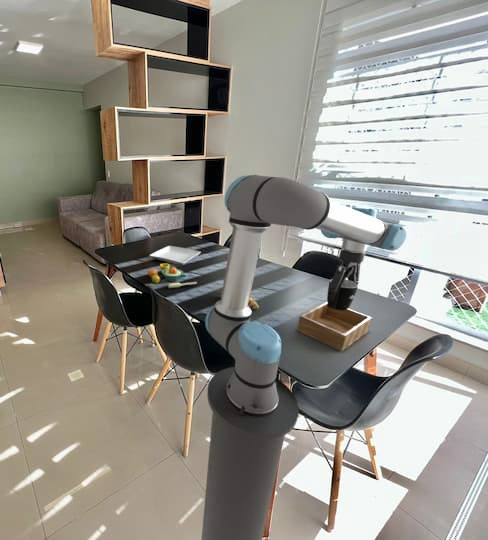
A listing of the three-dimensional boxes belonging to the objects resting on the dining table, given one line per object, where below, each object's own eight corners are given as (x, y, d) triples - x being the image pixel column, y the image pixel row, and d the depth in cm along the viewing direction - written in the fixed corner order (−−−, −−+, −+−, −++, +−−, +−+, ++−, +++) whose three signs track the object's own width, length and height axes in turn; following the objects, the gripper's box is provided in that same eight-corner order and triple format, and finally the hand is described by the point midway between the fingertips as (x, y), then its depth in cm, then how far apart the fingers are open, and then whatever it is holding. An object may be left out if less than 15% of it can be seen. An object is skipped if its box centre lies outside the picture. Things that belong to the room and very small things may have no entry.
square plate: (148, 260, 200) (148, 254, 198) (169, 249, 221) (169, 245, 219) (182, 267, 185) (183, 262, 184) (201, 256, 206) (201, 250, 205)
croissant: (259, 314, 136) (265, 299, 136) (252, 313, 129) (258, 296, 128) (221, 299, 150) (226, 285, 150) (212, 297, 142) (217, 282, 142)
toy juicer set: (141, 277, 172) (141, 265, 169) (165, 270, 182) (165, 258, 179) (172, 294, 150) (172, 280, 147) (197, 285, 160) (198, 272, 157)
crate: (341, 351, 105) (345, 336, 102) (297, 330, 118) (300, 315, 116) (367, 332, 116) (372, 317, 114) (324, 314, 129) (328, 301, 127)
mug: (348, 315, 106) (355, 290, 102) (321, 306, 112) (327, 283, 108) (355, 303, 114) (361, 280, 110) (329, 296, 120) (335, 274, 116)
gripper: (356, 242, 114) (343, 291, 121) (325, 253, 101) (313, 307, 109) (379, 247, 108) (363, 298, 116) (348, 258, 95) (333, 315, 103)
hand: (339, 302), depth 112 cm, fingers closed on mug, 12 cm apart
